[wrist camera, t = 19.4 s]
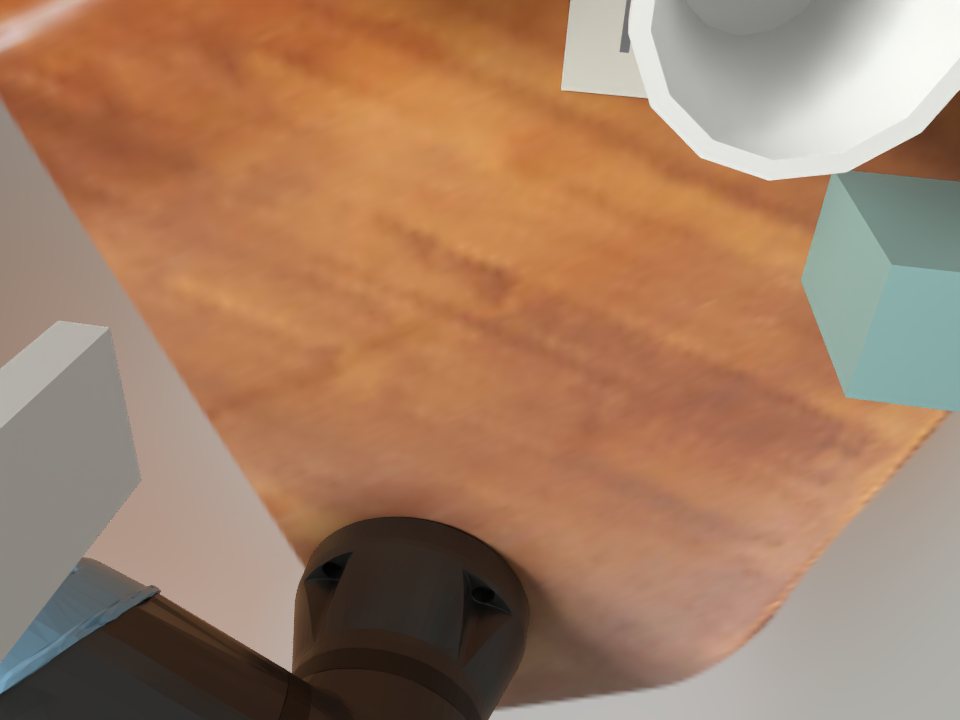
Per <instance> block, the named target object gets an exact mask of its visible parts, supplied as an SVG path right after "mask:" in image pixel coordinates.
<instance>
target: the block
mask: <svg viewBox="0 0 960 720" xmlns="http://www.w3.org/2000/svg"><path fill="white" fill-rule="evenodd" d="M801 282H802V285H803V287H804V290H805V293H806V295H807V298H808V300H809V303H810V306H811V308H812V311H813V313H814V316H815V319H816V321H817V324H818V327H819V329H820V332H821V334H822V337H823V340H824V342H825V345H826V347H827V350H828V353H829V355H830V358H831V360H832V363H833V366H834V368H835V371H836V374H837V376H838V379H839V381H840V384H841V387H842V389H843V392H844V394H845V397H846V398H854V399H862V400H870V401H877V402H885V403H893V404H901V405H909V406H916V407H924V408H932V409H940V410H947V411H955V412H960V182H958V181H949V180H939V179H929V178H919V177H909V176H899V175H890V174H880V173H870V172H860V171H848V172H845V173H836V174H831V178H830V181H829V185H828V188H827V192H826V195H825V199H824V202H823V206H822V209H821V213H820V216H819V219H818V223H817V226H816V230H815V233H814V237H813V240H812V244H811V247H810V251H809V254H808V258H807V261H806V265H805V268H804V271H803V275H802V278H801Z"/></svg>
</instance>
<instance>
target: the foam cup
mask: <svg viewBox="0 0 960 720" xmlns="http://www.w3.org/2000/svg"><path fill="white" fill-rule="evenodd" d="M628 35H629V38H630V41H631V44H632V48H633V51H634V54H635V58H636V61H637V64H638V67H639V71H640V74H641V77H642V80H643V84H644V87H645V90H646V93H647V97H648V100H649V103H650V107H651V108H652V109H653V110H654V111H655V112H656V113H657V114H658V115H659V116H660V117H661V118H662V119H663V120H664V121H665V122H666V123H667V124H668V125H669V126H670V127H671V128H672V129H673V130H674V131H675V132H676V133H677V134H678V135H679V136H680V137H681V138H682V139H683V140H684V141H685V142H686V143H687V145H688V146H689V147H690V148H691V149H692V150H693V151H694V152H695V153H696V154H697V155H698V156H699V157H700V158H703V159H706V160H709V161H712V162H715V163H718V164H721V165H724V166H727V167H730V168H733V169H736V170H739V171H742V172H745V173H748V174H751V175H754V176H757V177H760V178H763V179H766V180H768V181H769V180H779V179H788V178H798V177H807V176H817V175H826V174H836V173H845V172H848V171H850V170H852V169H854V168H855V167H857V166H859V165H861V164H863V163H865V162H867V161H869V160H871V159H872V158H874V157H876V156H878V155H880V154H882V153H884V152H886V151H888V150H890V149H891V148H893V147H895V146H897V145H899V144H901V143H903V142H905V141H907V140H909V139H910V138H912V137H914V136H916V135H918V134H920V133H922V132H923V130H924V129H925V128H926V127H927V126H928V125H929V124H930V123H931V121H932V120H933V119H934V118H935V117H936V116H937V115H938V113H939V112H940V111H941V110H942V109H943V108H944V107H945V106H946V104H947V103H948V102H949V101H950V100H951V99H952V98H953V97H954V95H955V94H956V93H957V92H958V91H959V90H960V0H631V4H630V12H629V19H628Z"/></svg>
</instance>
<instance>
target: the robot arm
mask: <svg viewBox="0 0 960 720" xmlns="http://www.w3.org/2000/svg"><path fill="white" fill-rule="evenodd" d="M140 482H141V475H140V470H139V466H138V461H137V456H136V451H135V447H134V441H133V436H132V432H131V427H130V422H129V417H128V412H127V408H126V403H125V398H124V393H123V388H122V384H121V378H120V374H119V369H118V364H117V359H116V354H115V349H114V344H113V340H112V335H111V331H110V327H102V326H95V325H87V324H80V323H73V322H65V321H57V322H56V323H55V324H54V325H53V326H51V327H50V328H49V329H48V330H46V331H45V332H44V333H43V334H42V335H40V336H39V337H38V338H37V339H36V340H35V341H33V342H32V343H31V344H30V345H28V346H27V347H26V348H25V349H24V350H23V351H21V352H20V353H19V354H17V355H16V356H15V357H14V358H13V359H12V360H10V361H9V362H8V363H7V364H5V365H4V366H3V367H2V368H1V369H0V720H488V719H489V718H490V716H491V714H492V712H493V711H494V709H495V707H496V705H497V703H498V702H499V700H500V698H501V696H502V695H503V693H504V691H505V689H506V688H507V686H508V684H509V682H510V681H511V679H512V677H513V675H514V674H515V672H516V670H517V668H518V667H519V665H520V662H521V660H522V657H523V654H524V650H525V645H526V639H527V631H528V624H529V607H528V602H527V598H526V595H525V592H524V590H523V587H522V585H521V583H520V582H519V580H518V578H517V577H516V575H515V574H514V572H513V571H512V570H511V569H510V567H509V566H508V565H507V564H506V563H505V562H504V561H503V560H502V559H501V558H500V557H499V556H498V555H497V554H496V553H494V552H493V551H492V550H491V549H489V548H488V547H487V546H485V545H484V544H482V543H481V542H479V541H478V540H476V539H474V538H472V537H471V536H469V535H467V534H465V533H463V532H460V531H458V530H456V529H453V528H450V527H448V526H445V525H442V524H438V523H435V522H431V521H426V520H421V519H414V518H405V517H383V518H374V519H368V520H364V521H360V522H356V523H353V524H350V525H348V526H345V527H343V528H341V529H339V530H337V531H336V532H334V533H333V534H331V535H330V536H328V537H327V538H326V539H325V540H324V541H323V542H322V543H321V544H320V545H319V546H318V547H317V548H316V550H315V551H314V553H313V554H312V556H311V558H310V560H309V562H308V565H307V567H306V569H305V571H304V574H303V576H302V578H301V580H300V583H299V586H298V589H297V593H296V599H295V615H294V616H295V617H294V638H293V663H292V673H290V672H288V671H287V670H285V669H284V668H282V667H280V666H279V665H277V664H275V663H274V662H272V661H270V660H269V659H267V658H265V657H264V656H262V655H260V654H259V653H257V652H255V651H254V650H252V649H250V648H249V647H247V646H245V645H244V644H242V643H240V642H239V641H237V640H235V639H234V638H232V637H230V636H228V635H227V634H225V633H224V632H222V631H220V630H218V629H217V628H215V627H214V626H212V625H210V624H208V623H207V622H205V621H204V620H202V619H200V618H199V617H197V616H195V615H193V614H192V613H190V612H189V611H186V610H185V609H183V608H182V607H180V606H179V605H177V604H175V603H173V602H172V601H170V600H168V599H167V598H165V597H164V596H162V595H160V594H159V593H160V592H161V590H159V589H158V588H157V587H156V586H153V585H151V586H144V585H143V584H141V583H139V582H137V581H135V580H133V579H131V578H129V577H127V576H126V575H124V574H122V573H120V572H118V571H116V570H114V569H112V568H110V567H108V566H106V565H105V564H103V563H101V562H99V561H96V560H94V559H90V558H85V557H83V555H84V554H85V553H86V552H87V550H88V549H89V548H90V546H91V545H92V544H93V542H94V541H95V540H96V539H97V537H98V536H99V535H100V533H101V532H102V531H103V529H104V528H105V527H106V526H107V524H108V523H109V522H110V520H111V519H112V518H113V517H114V515H115V514H116V513H117V511H118V510H119V509H120V507H121V506H122V505H123V504H124V502H125V501H126V500H127V498H128V497H129V496H130V495H131V493H132V492H133V491H134V489H135V488H136V487H137V485H138V484H139V483H140Z"/></svg>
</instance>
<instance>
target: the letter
mask: <svg viewBox="0 0 960 720" xmlns="http://www.w3.org/2000/svg"><path fill="white" fill-rule="evenodd" d="M630 4H631V0H570V8H569V18H568V27H567V37H566V46H565V56H564V65H563V75H562V84H561V90H566V91H577V92H587V93H597V94H608V95H618V96H628V97H639V98H648V97H647V93H646V90H645V87H644V84H643V80H642V77H641V74H640V71H639V67H638V64H637V61H636V58H635V54H634V51H633V48H632V44H631V41H630V38H629V35H628V19H629V12H630Z"/></svg>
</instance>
